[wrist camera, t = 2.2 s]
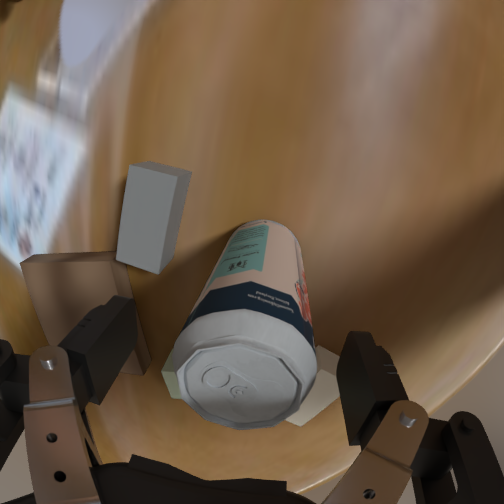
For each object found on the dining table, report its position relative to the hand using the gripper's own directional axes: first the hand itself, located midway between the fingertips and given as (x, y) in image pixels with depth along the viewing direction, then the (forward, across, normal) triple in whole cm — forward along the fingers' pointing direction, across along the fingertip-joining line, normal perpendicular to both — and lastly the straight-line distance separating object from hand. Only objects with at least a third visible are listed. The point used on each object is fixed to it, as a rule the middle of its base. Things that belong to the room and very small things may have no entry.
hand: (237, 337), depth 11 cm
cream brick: (+10, -6, +10) cm, 15 cm away
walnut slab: (+10, +13, +7) cm, 18 cm away
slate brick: (+10, +6, -2) cm, 12 cm away
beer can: (+10, -1, 0) cm, 10 cm away
